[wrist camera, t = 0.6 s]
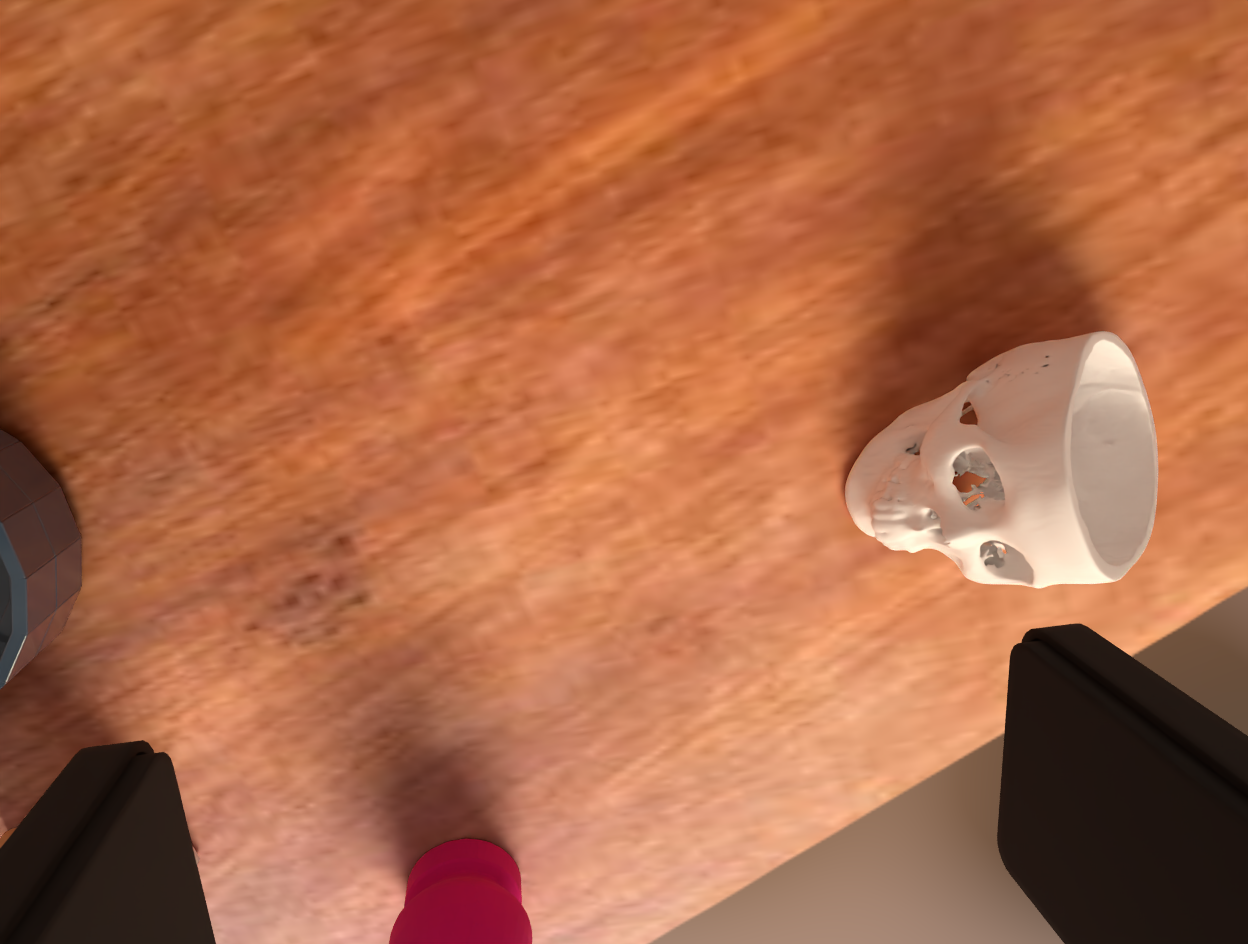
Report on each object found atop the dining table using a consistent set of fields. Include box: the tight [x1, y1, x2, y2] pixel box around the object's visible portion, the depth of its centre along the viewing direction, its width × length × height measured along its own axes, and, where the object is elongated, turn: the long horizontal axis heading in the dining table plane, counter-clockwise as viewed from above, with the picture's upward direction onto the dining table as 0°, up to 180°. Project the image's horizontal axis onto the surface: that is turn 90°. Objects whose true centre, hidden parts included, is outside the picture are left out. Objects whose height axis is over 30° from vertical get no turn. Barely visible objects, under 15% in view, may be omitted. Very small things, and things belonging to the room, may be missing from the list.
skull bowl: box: [845, 331, 1158, 588], centre depth 42 cm, size 10×14×12 cm
